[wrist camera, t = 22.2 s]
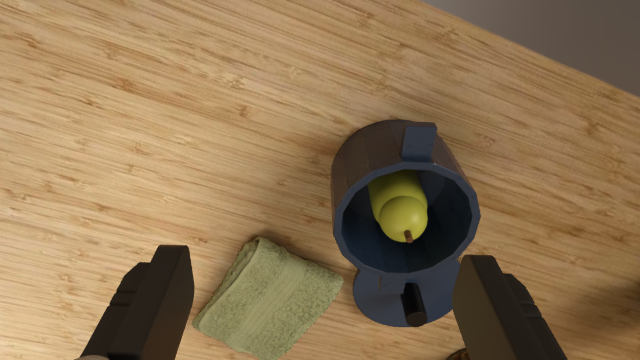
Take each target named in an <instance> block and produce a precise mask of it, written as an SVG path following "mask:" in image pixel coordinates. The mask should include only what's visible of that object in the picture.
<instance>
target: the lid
mask: <svg viewBox="0 0 640 360" xmlns="http://www.w3.org/2000/svg"><path fill="white" fill-rule="evenodd" d="M460 265H461V264H460V262H459V261H458V260H457V259H455V260H454V261H452V262H450V263H449V264H447V265H446V266H444V267H442V268H441V269H439V270H437V271H435V272H433V273H429V274H426V275H422V276H418V277H414V278H410V279H406V282H405V287H404V292H403V294H393V293H379V290H378V282H379V276H376V275H373V274H370V273H367V272H364V271H362V270H358V272H357V274H356V276H355V278H354V282H353V296H354V300H355V303H356V305H357V306H358V308H359V309H360V311H361V312H362V313H363V314H364V315H365V316H367V317H368V318H370V319H371V320H373V321H375V322H378V323H380V324H383V325H387V326H393V327H420V326H422V325H424V324H427V323H430V322H432V321H435V320H437V319H439V318H441V317H442V316H444V315H446V314H447V313H448V312H450V311H451V310H452V309H453V307H452V293H453V289H454V286H455V282H456V279H457V275H458V272H459V268H460Z"/></svg>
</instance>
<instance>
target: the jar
mask: <svg viewBox="0 0 640 360" xmlns="http://www.w3.org/2000/svg"><path fill="white" fill-rule="evenodd" d="M447 360H470V357H469V355H468V352H467V349H463V350H461V351H459V352H457V353H455V354H453V355H452V356H450V357H449V358H448V359H447Z"/></svg>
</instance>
